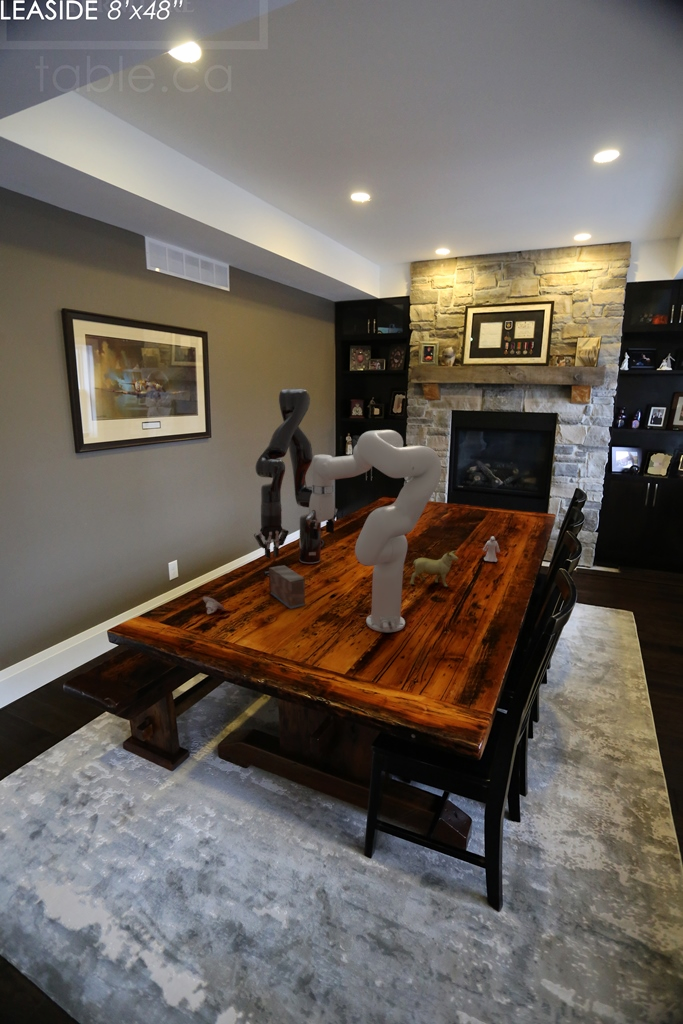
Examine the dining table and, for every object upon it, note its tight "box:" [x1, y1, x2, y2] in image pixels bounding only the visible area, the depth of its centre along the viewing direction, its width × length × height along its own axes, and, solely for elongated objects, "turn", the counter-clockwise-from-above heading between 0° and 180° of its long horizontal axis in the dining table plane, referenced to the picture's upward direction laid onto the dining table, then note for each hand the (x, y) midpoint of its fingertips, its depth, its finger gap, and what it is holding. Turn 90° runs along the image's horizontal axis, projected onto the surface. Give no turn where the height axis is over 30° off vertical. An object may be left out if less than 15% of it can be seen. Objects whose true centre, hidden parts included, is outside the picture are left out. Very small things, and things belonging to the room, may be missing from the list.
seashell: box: [202, 596, 226, 615], centre depth 167 cm, size 8×5×8 cm
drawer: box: [263, 565, 279, 591], centre depth 183 cm, size 20×4×8 cm, turn 34°
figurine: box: [482, 535, 501, 563], centre depth 223 cm, size 8×8×12 cm
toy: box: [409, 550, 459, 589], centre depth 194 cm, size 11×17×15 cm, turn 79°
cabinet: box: [269, 564, 306, 610], centre depth 179 cm, size 16×6×10 cm, turn 34°
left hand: (271, 557), depth 187 cm, fingers closed
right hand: (322, 535), depth 182 cm, fingers open, 9 cm apart
